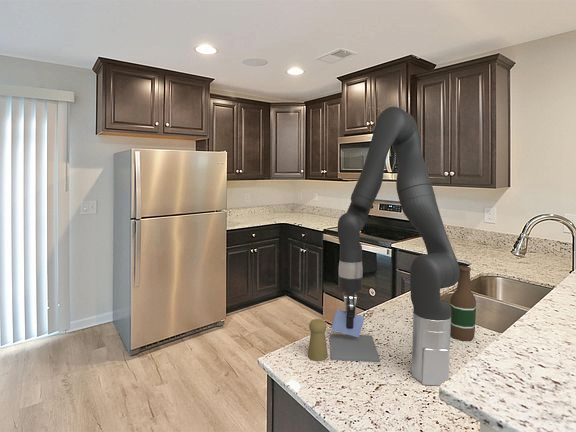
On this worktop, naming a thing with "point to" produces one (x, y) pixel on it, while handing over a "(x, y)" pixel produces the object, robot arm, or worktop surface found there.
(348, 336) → the mat
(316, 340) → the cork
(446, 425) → the worktop surface
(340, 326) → the card deck
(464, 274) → the beer bottle
